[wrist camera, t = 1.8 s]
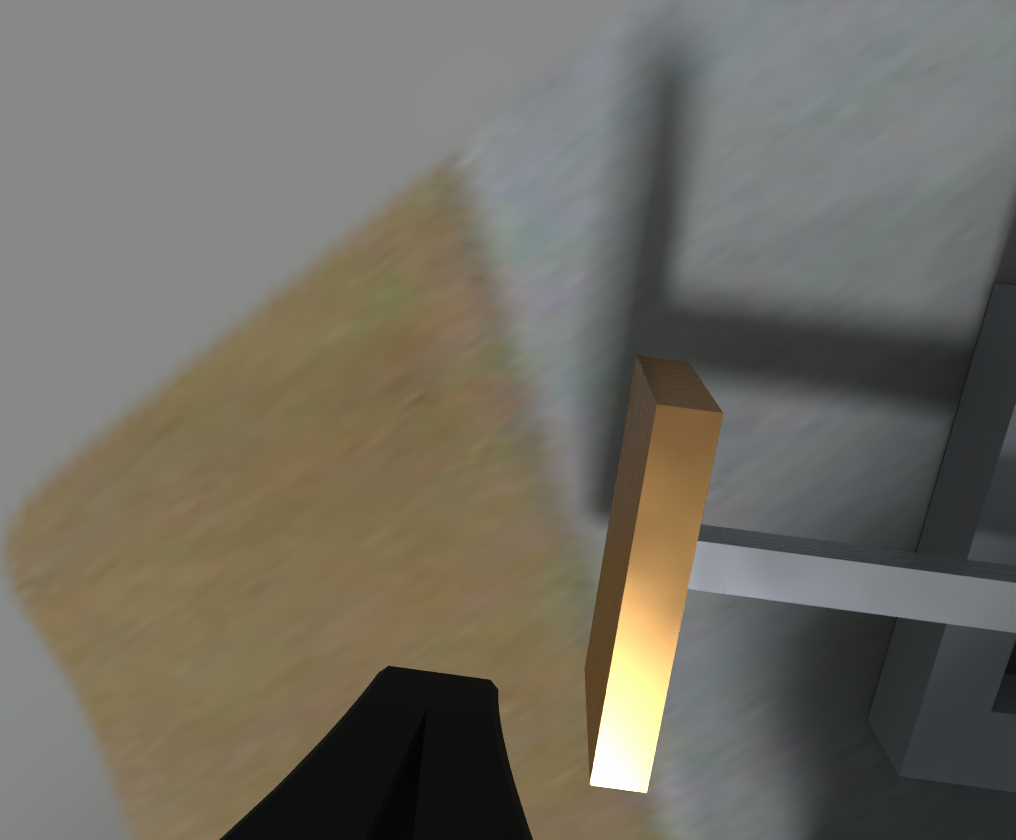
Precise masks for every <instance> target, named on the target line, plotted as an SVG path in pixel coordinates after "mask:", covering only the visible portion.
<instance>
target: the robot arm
mask: <svg viewBox="0 0 1016 840" xmlns="http://www.w3.org/2000/svg"><path fill="white" fill-rule="evenodd" d="M219 840H533V838H532V836H531V833H530V830H529V827H528V824H527V821H526V818H525V815H524V811H523V808H522V805H521V802H520V799H519V795H518V792H517V789H516V786H515V783H514V779H513V776H512V772H511V768H510V764H509V760H508V756H507V752H506V747H505V743H504V738H503V733H502V728H501V722H500V715H499V704H498V689H497V687H496V686H495V685H494V684H493V682H492V681H491V680H488V679H481V678H473V677H466V676H459V675H452V674H444V673H437V672H430V671H422V670H415V669H408V668H400V667H393V666H388V667H386V668H385V669H383V670H382V671H380V672H379V673H378V674H377V675H376V677H375V678H374V679H373V681H372V682H371V683H370V685H369V686H368V687H367V688H366V690H365V691H364V692H363V693H362V695H361V696H360V697H359V698H358V699H357V701H356V702H355V703H354V704H353V705H352V707H351V708H350V709H349V710H348V711H347V712H346V714H345V715H344V716H343V717H342V718H341V719H340V720H339V722H338V723H337V724H336V725H335V726H334V727H333V728H332V729H331V731H330V732H329V733H328V734H327V735H326V736H325V737H324V738H323V739H322V740H321V741H320V742H319V743H318V745H317V746H316V747H315V748H314V749H313V750H312V751H311V752H310V753H309V754H308V755H307V756H306V757H305V758H304V759H303V760H302V761H301V762H300V763H299V764H298V765H297V766H296V767H295V769H294V770H293V771H292V772H291V773H290V774H289V775H288V776H287V777H286V778H285V779H284V780H283V781H282V782H281V783H280V784H279V785H278V786H277V787H276V788H275V789H274V790H273V791H271V792H270V793H269V794H268V795H267V796H266V797H265V798H264V799H263V800H262V801H261V802H260V803H259V804H257V805H256V806H255V807H254V808H253V809H252V810H251V811H250V812H249V813H248V814H247V815H246V816H245V817H243V818H242V819H241V820H240V821H239V822H238V823H237V824H236V825H235V826H234V827H233V828H232V829H231V830H229V831H228V832H227V833H226V834H225V835H224V836H223V837H222V838H221V839H219Z"/></svg>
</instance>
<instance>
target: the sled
mask: <svg viewBox="0 0 1016 840" xmlns="http://www.w3.org/2000/svg"><path fill="white" fill-rule="evenodd" d="M722 417H723V412H722V410H721V409H720V407H719V406H718V404H717V403H716V401H715V400H714V399H713V397H712V396H711V394H710V393H709V391H708V390H707V388H706V387H705V385H704V384H703V382H702V381H701V379H700V378H699V376H698V375H697V374H696V372H695V371H694V369H693V368H692V366H691V365H690V363H689V362H687V361H679V360H671V359H663V358H655V357H647V356H639V355H636V361H635V367H634V373H633V379H632V385H631V391H630V397H629V403H628V409H627V415H626V421H625V428H624V434H623V440H622V446H621V452H620V458H619V464H618V470H617V476H616V482H615V488H614V494H613V500H612V506H611V512H610V518H609V524H608V530H607V536H606V543H605V549H604V555H603V561H602V567H601V573H600V579H599V585H598V591H597V597H596V603H595V609H594V615H593V621H592V627H591V633H590V639H589V645H588V652H587V658H586V664H585V688H586V710H587V732H588V754H589V776H590V785H595V786H602V787H609V788H616V789H624V790H631V791H638V792H645V793H647V788H648V783H649V778H650V773H651V768H652V764H653V759H654V754H655V749H656V744H657V739H658V734H659V729H660V724H661V719H662V714H663V709H664V704H665V699H666V694H667V689H668V684H669V679H670V674H671V669H672V664H673V660H674V655H675V650H676V645H677V640H678V635H679V630H680V625H681V620H682V615H683V610H684V605H685V600H686V595H687V590H688V589H692V590H699V591H707V592H714V593H721V594H729V595H736V596H744V597H751V598H759V599H766V600H774V601H781V602H789V603H796V604H804V605H811V606H819V607H826V608H834V609H841V610H848V611H856V612H863V613H871V614H878V615H886V616H893V617H901V618H908V619H916V620H923V621H931V622H938V623H946V624H953V625H961V626H968V627H975V628H983V629H990V630H998V631H1005V632H1013V633H1016V566H1014V565H1006V564H998V563H991V562H983V561H976V560H968V559H960V558H953V557H945V556H938V555H930V554H922V553H915V552H907V551H900V550H892V549H884V548H877V547H869V546H862V545H854V544H846V543H839V542H831V541H824V540H816V539H808V538H801V537H793V536H786V535H778V534H770V533H763V532H755V531H748V530H740V529H732V528H725V527H717V526H710V525H702V524H701V521H702V516H703V511H704V506H705V501H706V496H707V491H708V486H709V481H710V476H711V471H712V466H713V461H714V457H715V452H716V447H717V442H718V437H719V432H720V427H721V422H722Z"/></svg>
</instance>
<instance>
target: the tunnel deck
mask: <svg viewBox="0 0 1016 840" xmlns="http://www.w3.org/2000/svg"><path fill="white" fill-rule="evenodd" d="M916 553H922V554H930V555H938V556H945V557H953V558H960V559H968V560H976V561H983V562H991V563H998V564H1006V565H1014V566H1016V285H1010V284H1002V283H995V284H994V287H993V290H992V294H991V297H990V301H989V304H988V308H987V311H986V315H985V318H984V321H983V325H982V328H981V332H980V335H979V339H978V342H977V345H976V349H975V352H974V356H973V359H972V363H971V366H970V370H969V373H968V376H967V380H966V383H965V387H964V390H963V394H962V397H961V400H960V404H959V407H958V411H957V414H956V418H955V421H954V424H953V428H952V431H951V435H950V438H949V442H948V445H947V449H946V452H945V455H944V459H943V462H942V466H941V469H940V473H939V476H938V479H937V483H936V486H935V490H934V493H933V497H932V500H931V504H930V507H929V510H928V514H927V517H926V521H925V524H924V528H923V531H922V534H921V538H920V541H919V545H918V548H917V552H916ZM868 722H869V724H870V725H871V727H872V729H873V731H874V733H875V734H876V736H877V738H878V740H879V741H880V743H881V745H882V747H883V749H884V750H885V752H886V754H887V756H888V757H889V759H890V761H891V763H892V765H893V766H894V768H895V770H896V772H897V774H898V775H899V777H907V778H914V779H921V780H928V781H935V782H942V783H950V784H957V785H964V786H971V787H978V788H986V789H993V790H1000V791H1007V792H1014V793H1016V633H1013V632H1005V631H998V630H990V629H983V628H975V627H968V626H961V625H953V624H946V623H938V622H931V621H923V620H916V619H908V618H901V617H897V620H896V624H895V627H894V631H893V634H892V638H891V641H890V644H889V648H888V651H887V655H886V658H885V662H884V665H883V668H882V672H881V675H880V679H879V682H878V686H877V689H876V693H875V696H874V699H873V703H872V706H871V710H870V713H869V717H868Z"/></svg>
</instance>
